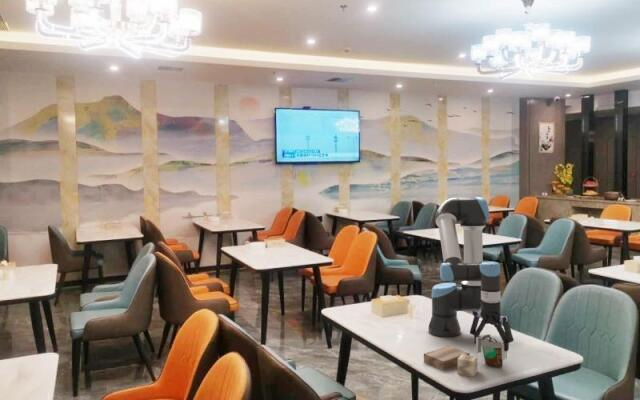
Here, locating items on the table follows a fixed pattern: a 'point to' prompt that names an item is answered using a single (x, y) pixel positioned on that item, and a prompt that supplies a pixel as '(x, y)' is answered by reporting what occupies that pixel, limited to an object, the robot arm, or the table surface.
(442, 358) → the base block
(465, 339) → the table surface
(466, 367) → the cream cube
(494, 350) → the food container
